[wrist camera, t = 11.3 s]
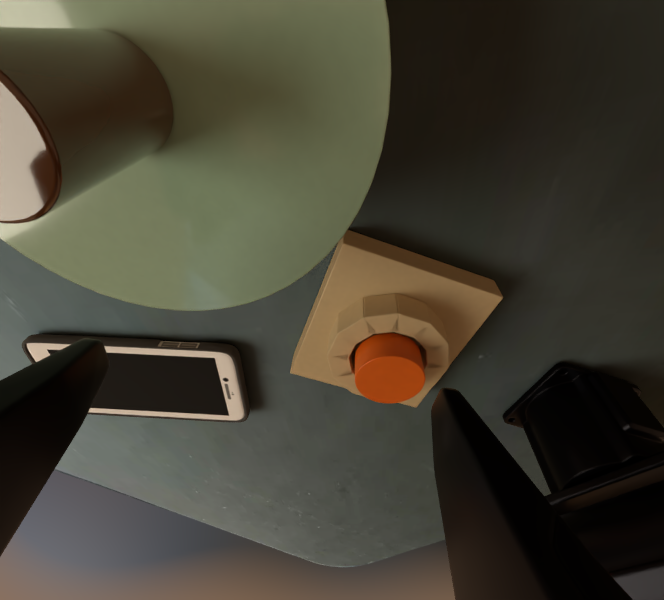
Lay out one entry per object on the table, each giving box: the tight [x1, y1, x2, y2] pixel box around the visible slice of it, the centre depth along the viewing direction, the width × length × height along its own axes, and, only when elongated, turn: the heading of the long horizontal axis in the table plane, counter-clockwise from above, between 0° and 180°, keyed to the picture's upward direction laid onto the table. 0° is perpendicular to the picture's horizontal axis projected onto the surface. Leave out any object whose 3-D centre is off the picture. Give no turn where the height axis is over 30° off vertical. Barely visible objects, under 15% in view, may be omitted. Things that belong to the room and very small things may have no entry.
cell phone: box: [22, 334, 250, 422], centre depth 26 cm, size 8×15×1 cm, turn 89°
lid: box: [0, 0, 392, 311], centre depth 8 cm, size 14×14×6 cm
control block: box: [290, 230, 503, 407], centre depth 21 cm, size 10×9×4 cm
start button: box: [355, 333, 425, 403], centre depth 19 cm, size 4×4×2 cm
